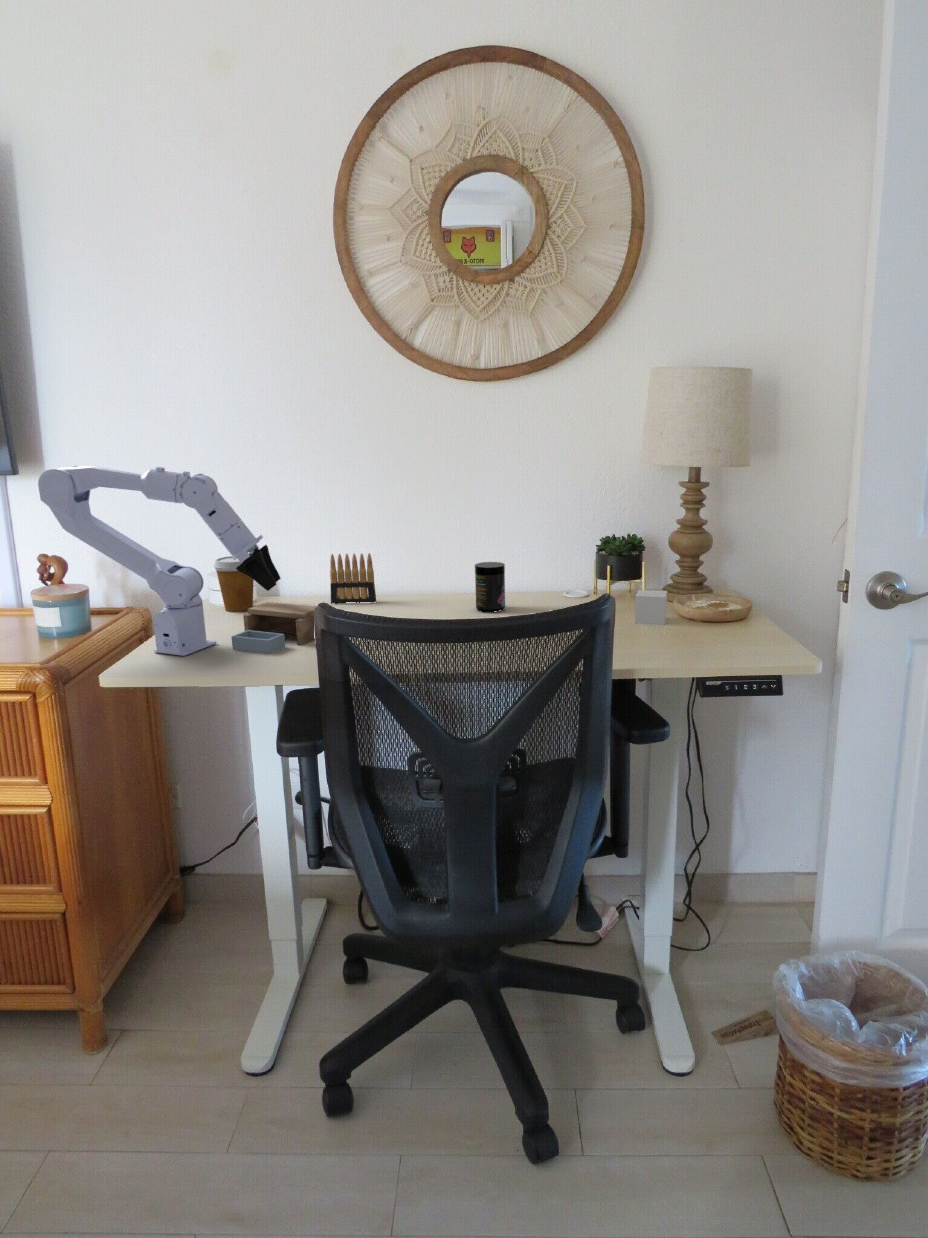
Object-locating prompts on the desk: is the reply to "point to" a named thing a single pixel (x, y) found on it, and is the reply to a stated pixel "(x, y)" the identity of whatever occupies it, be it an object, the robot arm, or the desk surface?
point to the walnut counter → (282, 619)
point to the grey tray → (258, 641)
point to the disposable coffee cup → (234, 585)
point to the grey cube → (651, 607)
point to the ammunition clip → (352, 580)
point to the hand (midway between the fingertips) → (274, 584)
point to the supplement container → (490, 586)
